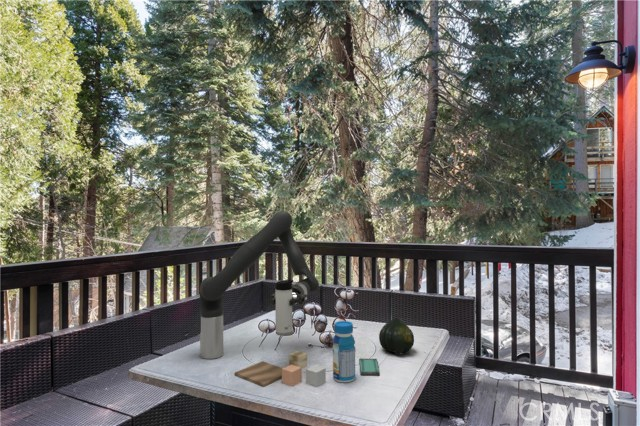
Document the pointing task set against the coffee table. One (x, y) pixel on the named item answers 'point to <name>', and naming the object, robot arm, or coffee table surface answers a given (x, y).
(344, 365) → the beverage bottle
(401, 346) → the squash
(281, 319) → the travel mug
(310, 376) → the grey block
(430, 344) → the coffee table surface
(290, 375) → the terracotta block
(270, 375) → the walnut board
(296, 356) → the birch block
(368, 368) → the smartphone
